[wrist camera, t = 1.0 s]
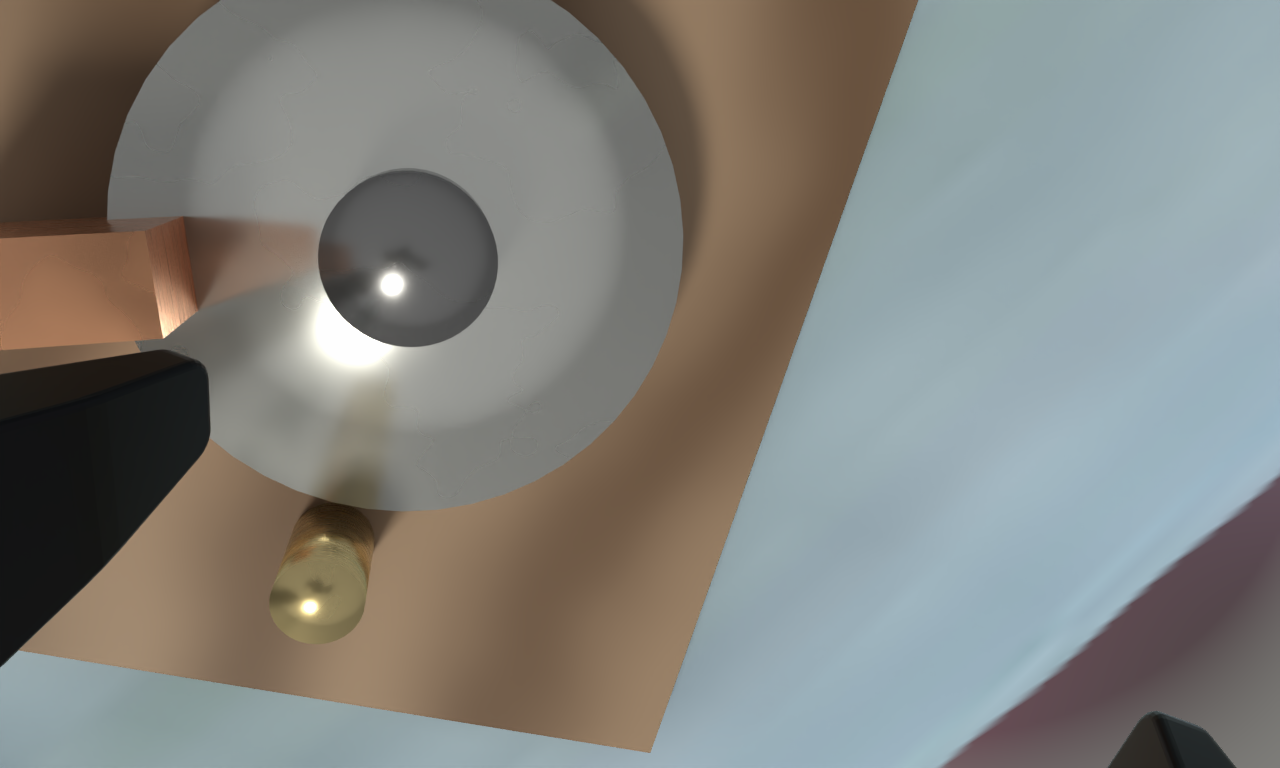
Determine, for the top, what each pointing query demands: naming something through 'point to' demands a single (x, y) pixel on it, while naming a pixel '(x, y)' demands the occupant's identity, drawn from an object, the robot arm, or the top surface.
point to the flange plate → (405, 103)
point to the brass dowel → (323, 575)
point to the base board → (559, 501)
